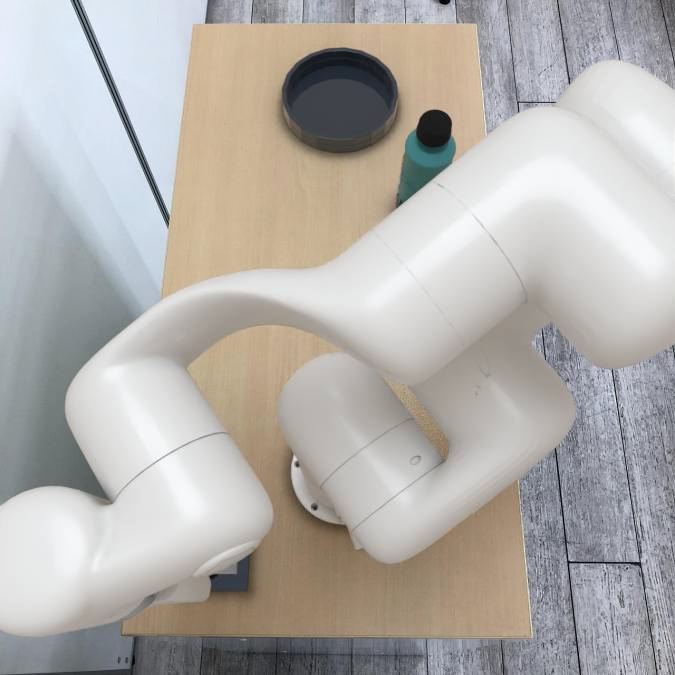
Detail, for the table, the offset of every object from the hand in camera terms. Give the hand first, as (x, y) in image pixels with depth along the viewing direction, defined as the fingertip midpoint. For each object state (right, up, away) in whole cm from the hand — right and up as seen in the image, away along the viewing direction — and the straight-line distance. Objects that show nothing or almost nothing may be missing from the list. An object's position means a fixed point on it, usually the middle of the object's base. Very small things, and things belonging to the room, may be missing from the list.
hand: (174, 568), depth 60 cm
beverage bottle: (+27, +40, +31) cm, 57 cm away
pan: (+16, +58, +38) cm, 71 cm away
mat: (+2, -4, +14) cm, 15 cm away
